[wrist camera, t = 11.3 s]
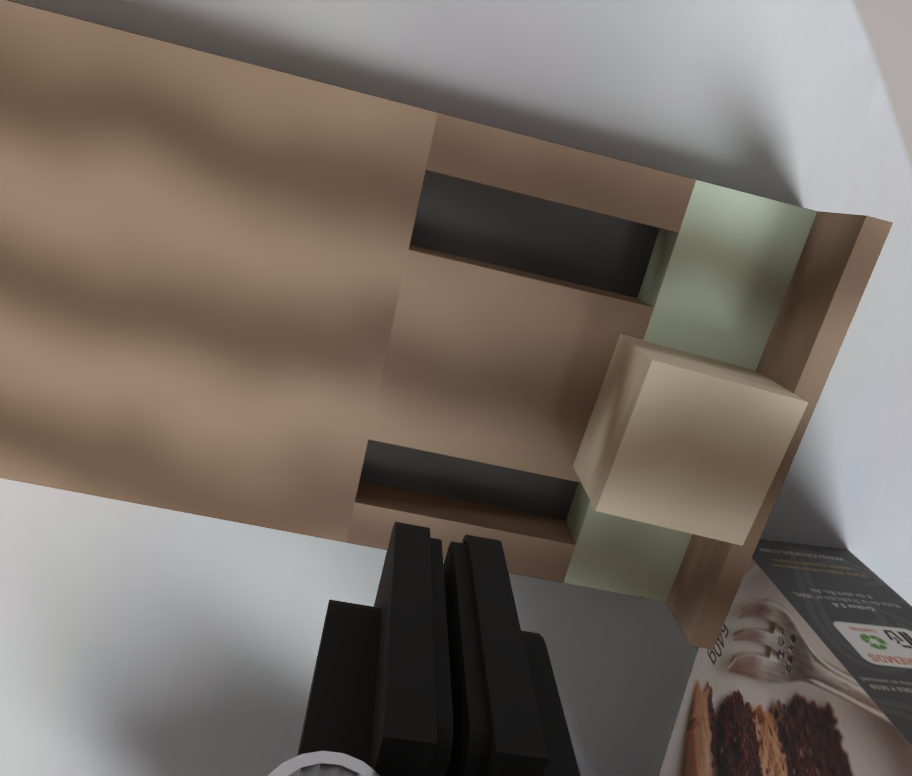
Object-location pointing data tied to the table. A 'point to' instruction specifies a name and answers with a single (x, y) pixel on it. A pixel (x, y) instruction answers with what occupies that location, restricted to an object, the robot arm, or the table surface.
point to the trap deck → (369, 307)
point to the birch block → (685, 440)
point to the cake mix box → (801, 674)
